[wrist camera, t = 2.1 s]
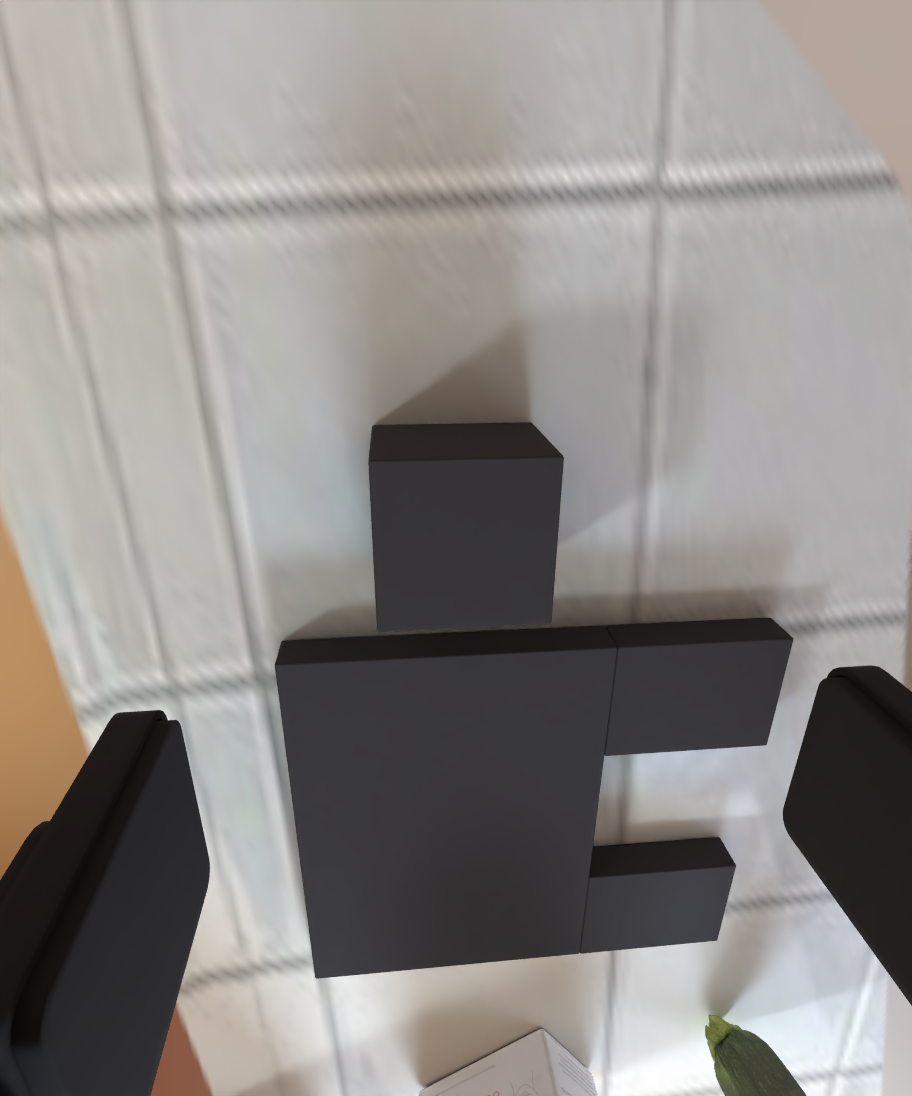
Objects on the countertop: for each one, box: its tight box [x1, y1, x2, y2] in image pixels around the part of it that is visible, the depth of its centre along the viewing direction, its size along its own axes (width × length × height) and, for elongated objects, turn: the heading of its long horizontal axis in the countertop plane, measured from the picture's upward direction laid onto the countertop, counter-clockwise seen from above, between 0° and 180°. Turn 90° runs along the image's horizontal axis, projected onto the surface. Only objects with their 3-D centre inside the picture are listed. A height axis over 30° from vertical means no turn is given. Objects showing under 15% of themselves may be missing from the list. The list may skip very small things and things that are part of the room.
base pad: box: [275, 618, 793, 978], centre depth 25 cm, size 18×16×2 cm
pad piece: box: [368, 423, 564, 632], centre depth 19 cm, size 5×5×4 cm
